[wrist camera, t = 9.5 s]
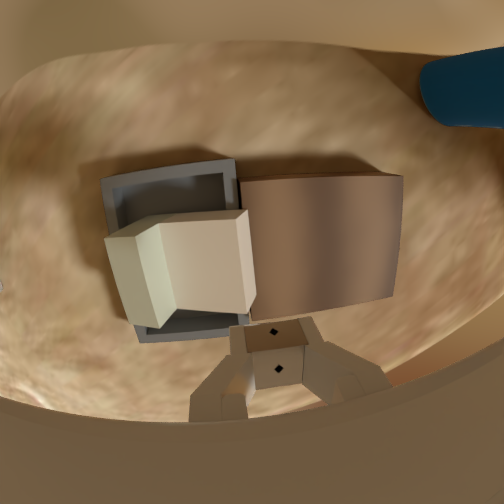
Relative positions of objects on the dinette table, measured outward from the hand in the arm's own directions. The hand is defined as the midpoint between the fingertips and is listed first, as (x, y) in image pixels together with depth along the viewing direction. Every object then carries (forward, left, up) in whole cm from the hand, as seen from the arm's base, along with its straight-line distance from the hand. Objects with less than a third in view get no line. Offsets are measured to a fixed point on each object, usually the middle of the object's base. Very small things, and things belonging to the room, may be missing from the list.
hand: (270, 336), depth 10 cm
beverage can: (-20, -12, -12) cm, 26 cm away
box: (+5, +1, -12) cm, 13 cm away
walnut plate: (-6, +1, -12) cm, 14 cm away
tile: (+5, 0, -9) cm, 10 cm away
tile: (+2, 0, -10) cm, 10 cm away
